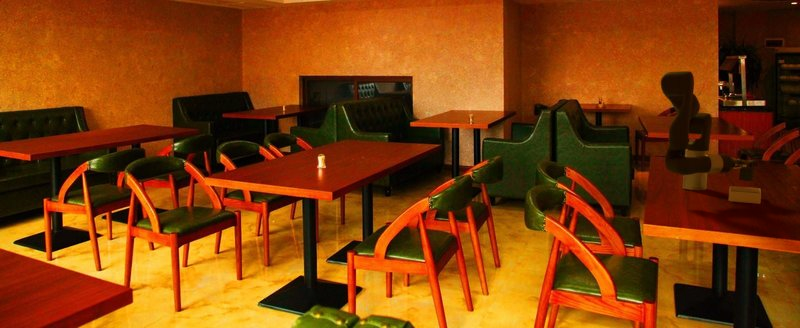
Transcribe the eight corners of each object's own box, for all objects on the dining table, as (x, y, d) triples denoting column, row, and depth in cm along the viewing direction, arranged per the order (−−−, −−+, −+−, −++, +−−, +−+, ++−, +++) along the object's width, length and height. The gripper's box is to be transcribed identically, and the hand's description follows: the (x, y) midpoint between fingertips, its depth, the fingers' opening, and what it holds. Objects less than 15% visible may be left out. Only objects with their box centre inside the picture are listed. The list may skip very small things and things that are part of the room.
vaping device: (738, 179, 252) (741, 149, 251) (753, 180, 249) (756, 150, 247) (737, 179, 250) (740, 150, 249) (752, 181, 247) (755, 151, 245)
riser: (728, 200, 249) (729, 190, 248) (728, 195, 259) (729, 185, 258) (760, 203, 244) (761, 193, 243) (759, 198, 253) (760, 188, 253)
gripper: (729, 156, 238) (767, 155, 242) (704, 151, 252) (740, 151, 256) (727, 176, 239) (765, 174, 243) (702, 170, 253) (739, 169, 257)
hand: (752, 162), depth 249 cm, fingers closed on vaping device, 4 cm apart
